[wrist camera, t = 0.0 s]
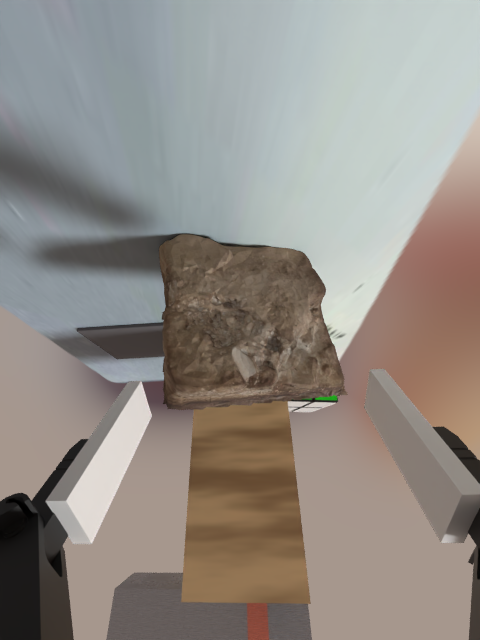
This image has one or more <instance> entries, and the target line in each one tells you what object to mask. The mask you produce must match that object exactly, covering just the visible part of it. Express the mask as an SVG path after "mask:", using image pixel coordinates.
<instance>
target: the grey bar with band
mask: <svg viewBox="0 0 480 640" xmlns="http://www.w3.org/2000/svg"><path fill="white" fill-rule="evenodd" d="M182 582H183V573H134V574H132V575H131V576H130V577H128V578H127V579H126V580H125V581H124V582H122V583H121V584H120V585H119V586H118V587H116V588H115V591H114V597H113V603H112V609H111V616H110V622H109V628H108V634H107V640H312V637H311V628H310V619H309V610H308V604H292V603H208V602H181V598H182Z"/></svg>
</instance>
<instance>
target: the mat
mask: <svg viewBox="0 0 480 640" xmlns="http://www.w3.org/2000/svg"><path fill="white" fill-rule="evenodd" d="M162 330H163V323H151V324H136V325H120V326H105V327H90V328H78V329H77V332H79V333H80V334H82V335H83V336H84V337H86V338H87V339H89V340H90V341H92V342H93V343H95V344H96V345H97V346H99V347H100V348H102V349H103V350H105V351H106V352H108V353H109V354H110V355H112V356H113V357H115V358H116V359H127V358H144V357H162V356H165V354H164V351H163V344H162V342H163V334H162Z"/></svg>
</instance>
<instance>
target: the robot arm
mask: <svg viewBox="0 0 480 640" xmlns="http://www.w3.org/2000/svg"><path fill="white" fill-rule="evenodd" d="M364 408H365V410H366V412H367V414H368V415H369V417H370V419H371V420H372V422H373V424H374V426H375V428H376V429H377V431H378V433H379V435H380V436H381V438H382V440H383V442H384V443H385V445H386V447H387V449H388V450H389V452H390V454H391V455H392V457H393V459H394V461H395V463H396V465H397V466H398V468H399V470H400V472H401V473H402V475H403V477H404V479H405V480H406V482H407V484H408V486H409V487H410V489H411V491H412V493H413V494H414V496H415V498H416V500H417V501H418V503H419V505H420V507H421V508H422V510H423V512H424V514H425V515H426V517H427V519H428V521H429V523H430V524H431V526H432V528H433V530H434V531H435V533H436V535H437V536H438V538H439V540H440V542H441V543H464V541H465V539H466V537H467V535H468V533H469V534H470V536H471V538H472V539H473V540H474V542H475V543H476V545H477V546H476V548H475V549H474V551H473V553H472V555H471V557H470V559H469V563H471V564H473V563H474V569H473V583H472V599H471V615H470V630H469V640H480V460H477V458H476V456H475V455H474V454H473V453H472V452H471V451H470V450H468V448H467V446H466V445H465V444H464V443H463V442H462V441H461V440H460V439H459V437H458V436H456V435H455V434H454V433H452V432H451V431H449V430H448V429H446V428H445V427H432V426H431V425H430V424H429V423H428V421H427V420H426V419H425V418H424V417H423V415H422V414H421V413H420V412H419V410H418V409H417V408H416V407H415V406H414V404H412V402H411V401H410V400H409V398H408V397H407V396H406V395H405V394H404V392H403V391H402V390H401V389H400V388H399V386H398V385H397V384H396V383H395V381H394V380H393V379H392V378H391V377H390V375H389V374H388V373H387V372H386V371H385V369H374V370H370V372H369V380H368V386H367V392H366V399H365V406H364ZM151 417H152V415H151V412H150V409H149V405H148V402H147V399H146V396H145V392H144V389H143V386H142V382H141V381H130V382H128V383H127V385H126V386H125V387H124V389H123V390H122V392H121V393H120V395H119V396H118V397H117V399H116V400H115V402H114V403H113V405H112V406H111V408H110V409H109V410H108V412H107V413H106V415H105V416H104V418H103V419H102V421H101V422H100V423H99V425H98V426H97V428H96V429H95V431H94V432H93V433H92V435H91V436H90V438H89V439H81V440H80V441H79V442H78V443H77V444H75V445H74V446H73V447H72V448H71V449H70V450H69V451H68V453H67V454H66V455H65V457H64V458H63V460H62V462H60V463H59V465H58V466H57V467H56V470H55V471H53V473H52V474H51V475H50V477H49V478H48V480H47V481H46V482H45V484H44V485H43V486H42V488H41V489H40V490H39V492H38V493H37V494H36V496H35V497H34V498H33V500H32V501H31V500H30V499H29V497H28V496H27V495H26V494H23V493H17V494H14V495H11V496H9V497H6V498H5V499H3V500H2V501H0V640H74V639H73V629H72V619H71V611H70V610H71V609H70V600H69V590H68V581H67V570H66V561H65V551H64V549H63V543H64V542H65V540H66V538H67V537H69V538H70V539H71V541H72V543H73V544H92V542H93V540H94V538H95V536H96V534H97V532H98V529H99V527H100V525H101V523H102V521H103V519H104V517H105V515H106V512H107V510H108V508H109V506H110V504H111V502H112V500H113V498H114V495H115V493H116V491H117V489H118V487H119V485H120V483H121V481H122V478H123V476H124V474H125V472H126V470H127V468H128V466H129V464H130V461H131V459H132V457H133V455H134V453H135V451H136V448H137V446H138V444H139V442H140V440H141V438H142V436H143V434H144V431H145V429H146V427H147V425H148V423H149V421H150V419H151Z"/></svg>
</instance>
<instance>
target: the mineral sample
mask: <svg viewBox="0 0 480 640" xmlns="http://www.w3.org/2000/svg"><path fill="white" fill-rule="evenodd" d="M159 258H160V267H161V273H162V278H163V282H164V295H165V303H166V308H165V311H164V312H163V315H162V320H164V322H163V330H162V334H163V342H162V344H163V351H164V354H165V358H164V364H163V372H164V388H163V390H164V403H163V404H167V407H168V409H178V410H186V409H199V410H203V409H204V408H206V407H229V406H230V405H248V406H251V405H252V404H253V403H272V402H273V401H283V402H285V401H291V400H292V399H293V400H301V399H311V398H319V397H330V396H333V395H335V396H340V395H347V392H346V391H345V389H344V386H343V385H344V376H343V373H342V370H341V366H340V363H339V360H338V357H337V354H336V350H335V346H334V344H333V343H332V341H331V339H330V336H329V333H328V330H327V327H326V325H325V323H324V319H323V315H322V311H321V302H322V299H323V297H324V295H325V292H326V289H325V285H324V284H323V282H322V280H321V279H320V277H319V276H318V274H317V273H316V271H315V270H314V269H313V268H312V265H311V263H310V261H309V259H308V258H307V256H306V255H305V254H304V253H303V252H301V251H296V250H293V249H288V248H275V247H259V248H252V247H240V246H238V247H231V246H223V245H221V244H219V243H217V242H215V241H213V240H211V239H208V238H203V237H200V236H197V235H192V234H180V235H178V236H176V237H175V238H173V239H172V240H167V241H166V242H164V243H163V244H162V245H161V246H160V247H159Z"/></svg>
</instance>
